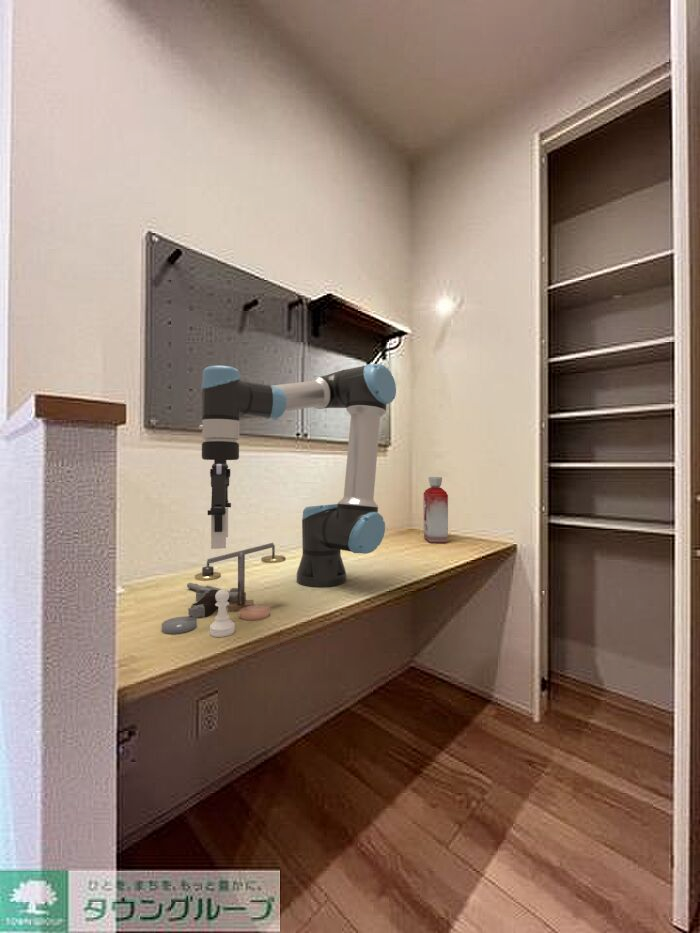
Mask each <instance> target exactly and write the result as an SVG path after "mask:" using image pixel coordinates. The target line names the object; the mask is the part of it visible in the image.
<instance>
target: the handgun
mask: <svg viewBox="0 0 700 933" xmlns="http://www.w3.org/2000/svg"><path fill="white" fill-rule="evenodd" d="M186 588H188V589H190V590H195V601H196V602H194V603H192V604H191V605H190V607H188V609H187V610H188V615H189V617H193V618H196V619H199V618H206V617H207V618H208V617H209V616H212V615H213V614H214V613H215V612H216V611H218V606H215V604H216V603H217V601H216V598H215V595H216V593H217V592H218V591H219V590H222V589H223V588H220V587H216V586H212V585H208V584H207V585H205V586H204V585H201V584H200V585H199V584H198V583H193V582H188V583H187V584H186ZM227 591H228V592H229V599H228V600H227V601H228V602H229V601H238V587H233V588H230V590H227ZM245 600H247V593H246V591H245Z"/></svg>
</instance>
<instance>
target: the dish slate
mask: <svg viewBox="0 0 700 933" xmlns="http://www.w3.org/2000/svg"><path fill="white" fill-rule="evenodd" d="M197 624H198V619H197V618H193V616H176V617H172V618H169V619H166V620H164V621H163V622H161V632H162V633H163V634H167V635H180V634H185V633H188V632H191V631H194V630H195V629H196V628H197V626H198V625H197Z"/></svg>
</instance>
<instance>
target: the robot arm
mask: <svg viewBox="0 0 700 933" xmlns="http://www.w3.org/2000/svg"><path fill="white" fill-rule="evenodd" d="M240 376H241V375H240V371H239V370H238V369H237V368H235V367H233V366H228V365H209V366H207V367H205V368H204V369H203V370H202V377H201V379H202V380H201V388H200V389H201V421H202V424H199V425H198V428H199V430H202V431H201V439H203V440H204V441H202V443H201V458H202V460H204V461H213V463H212V465H211V468H210V470H209V473H210V474H209V476H210V487H211V501H210V503H211V504H210V505H211V507H210V510H207V516H211V517H210V522H211V523H210V524H211V525H210V526H211V527H210V532H211V533H210V538H211V539H210V544H211V545H210V548H211V550H218V549H226V548H227V545H226V544H227V538H228V537H229V508H231V507H232V503H231V502H229V490H228V488H229V487H230V478H231V468H229V465H228V464H227V461H237V460H239V459H240V444H239V442H237V441H239V440H240V421H241V420H251V419H257V418H258V419H267V420H269V419H275V420H276V419H279V418H281V417H282V416H283V415H284V413H286V412H291V411H298V410H302V409H303V410H304V409H309V408H314V409H316V410H324V409H346V411H347V413H348V415H350V424H349V433H348V445H347V455H346V456H347V458H346V466H345V467H346V468H345V478H344V479H345V480H344V489H343V497H342V498H341V499H340V500H339V501H338V502H337V503H333V504H332V503H331V504H322V505H311V506H305V508H304V509H303V510H302V519H301V522H302V523H301V530H302V531H301V532H302V534H301V535H302V538H301V539H302V544H301V545H302V555H301V556H302V557H301V560H300V562H299V565H298V568H297V571H296V582H297V583H298V584H299V585H303V586H307V587H316V588H317V587H318V588H321V587H322V588H325V587H334V586H338V585H342V584H344V583H345V582H346V581H347V571H346V568H345V565H344V562H343V559H342V555H341V551H346V552H351V553H353V554H365V555H366V554H370V553H373V552H374V551H376V550H377V549H378V547H379V546H380V545H381V543H382V542H383V539H384V537H385V533H386V522H385V521H384V517H383V516H382V514H380V513H379V506H378V504H377V503H376V502H375V500H374V497H375V484H376V483H375V482H376V472H377V463H378V462H377V461H378V460H377V459H378V449H379V448H378V447H379V438H380V437H379V436H380V427H381V426H380V423H381V419H382V417H384V415H386V414H387V405H389V404H391V403H392V402H393V401H394V400H395V398H396V394H397V384H396V380H395V378H394V376H393V375H392V372H391V371H390V370H389V368H388V367H387V366H386V365H384V364H381V363H371V364H369V363H368V364H365V365H362V366H357V367H352V368H351V367H350V368H347V369H342V370H337V371H335V372H332V373H329V374H326V375H321V376H315V377H312V378H311V379H310V380H308V381H302V382H301V381H300V382H299V381H298V382H291V383H283V384H281V383H280V384H275V385H274V384H273V385H271V384H263V383H257V382H250V381H245V380H242V379H241V377H240Z"/></svg>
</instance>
